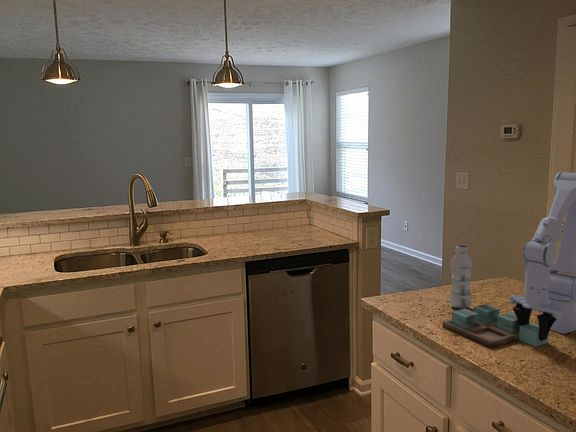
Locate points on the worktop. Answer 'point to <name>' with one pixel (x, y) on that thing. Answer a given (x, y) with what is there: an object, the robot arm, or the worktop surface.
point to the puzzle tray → (485, 325)
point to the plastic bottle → (461, 278)
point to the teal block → (531, 335)
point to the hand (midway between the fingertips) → (533, 336)
